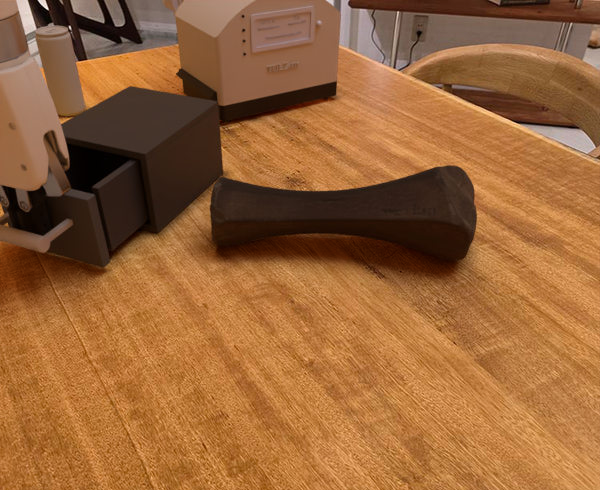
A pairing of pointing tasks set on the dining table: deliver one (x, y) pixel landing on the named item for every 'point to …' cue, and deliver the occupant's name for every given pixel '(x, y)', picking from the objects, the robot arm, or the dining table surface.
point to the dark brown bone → (355, 212)
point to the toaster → (257, 52)
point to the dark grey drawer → (89, 208)
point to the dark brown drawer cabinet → (157, 144)
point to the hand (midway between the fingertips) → (37, 238)
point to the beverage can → (60, 69)
